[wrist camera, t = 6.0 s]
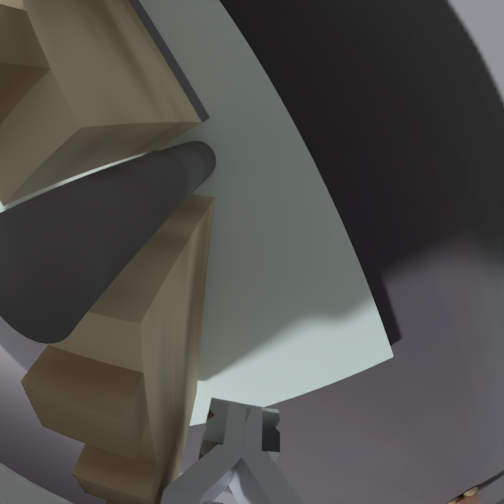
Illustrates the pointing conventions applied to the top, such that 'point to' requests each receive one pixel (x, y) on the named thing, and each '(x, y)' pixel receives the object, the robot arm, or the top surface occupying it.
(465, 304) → the top surface
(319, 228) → the card
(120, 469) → the notched wooden plank
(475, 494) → the grandmother figurine
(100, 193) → the fence fixed
